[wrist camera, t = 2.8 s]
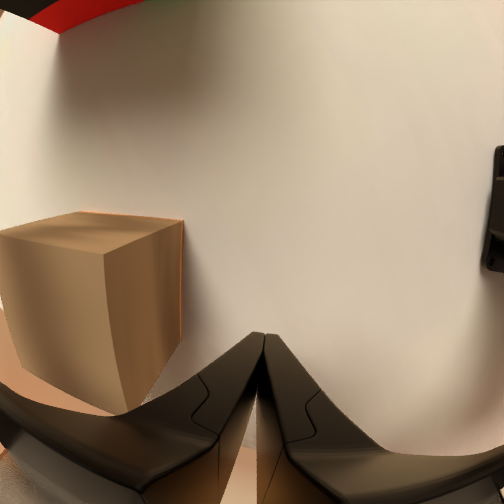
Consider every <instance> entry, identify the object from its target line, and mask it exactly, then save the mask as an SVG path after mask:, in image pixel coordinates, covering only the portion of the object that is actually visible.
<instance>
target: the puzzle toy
mask: <svg viewBox="0 0 504 504" xmlns="http://www.w3.org/2000/svg"><path fill="white" fill-rule="evenodd" d="M143 1H146V0H0V9H2V10H5V11H7V12H10V13H13V14H15V15H18V16H20V17H23V18H25V19H27V20H30V21H32V22H34V23H36V24H39V25H41V26H43V27H45V28H47V29H50V30H52V31H54V32H56V33H58V34H60V33H62V32H64V31H66V30H68V29H71V28H73V27H75V26H77V25H79V24H81V23H84V22H86V21H88V20H91V19H93V18H96V17H98V16H101V15H103V14H106V13H109V12H111V11H114V10H117V9H120V8H123V7H126V6H129V5H132V4H136V3H139V2H143Z"/></svg>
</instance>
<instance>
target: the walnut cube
mask: <svg viewBox="0 0 504 504" xmlns="http://www.w3.org/2000/svg"><path fill="white" fill-rule="evenodd" d="M182 240H183V220H174V219H164V218H154V217H143V216H132V215H120V214H108V213H96V212H82V211H80V212H75V213H70V214H65V215H61V216H56V217H52V218H48V219H44V220H39V221H35V222H31V223H27V224H23V225H20V226H16V227H12V228H8V229H5V230H1V231H0V295H1V300H2V304H3V308H4V312H5V316H6V320H7V323H8V327H9V330H10V333H11V337H12V340H13V343H14V346H15V349H16V352H17V355H18V357H19V360H20V363H21V365H22V367H23V368H24V369H26V370H27V371H29V372H30V373H32V374H34V375H35V376H37V377H39V378H40V379H42V380H44V381H45V382H47V383H49V384H51V385H53V386H54V387H56V388H58V389H60V390H62V391H64V392H66V393H68V394H70V395H71V396H73V397H75V398H78V399H80V400H82V401H84V402H86V403H88V404H90V405H93V406H95V407H97V408H99V409H102V410H104V411H107V412H109V413H112V414H114V415H116V416H117V415H120V414H124V413H126V412H129V411H131V410H133V409H135V408H137V407H139V406H140V405H141V403H142V402H143V400H144V398H145V397H146V395H147V394H148V392H149V390H150V389H151V387H152V386H153V384H154V382H155V381H156V379H157V378H158V376H159V374H160V373H161V371H162V370H163V368H164V366H165V365H166V363H167V362H168V360H169V358H170V357H171V355H172V354H173V352H174V351H175V349H176V347H177V346H178V344H179V343H180V341H181V339H182V336H181V271H182Z"/></svg>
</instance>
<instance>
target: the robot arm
mask: <svg viewBox="0 0 504 504" xmlns="http://www.w3.org/2000/svg"><path fill="white" fill-rule="evenodd" d="M502 153H503V154H502ZM503 156H504V145H500V146H497V147H496V149H495V170H494V185H493V196H492V205H491V212H490V219H489V225H488V231H487V237H486V242H485V247H484V251H483V256H482V265H483V267H484V268H486V269H488V270H490V271H496V272H502V273H504V157H503ZM490 258H491V260H490ZM489 260H490V262H489ZM258 381H259V382H258ZM257 388H258V389H257ZM256 394H257V398H256ZM255 398H256V423H257V504H504V496H503V494H502V492H501V489H502V488H503V487H504V445H502V446H499V447H496V448H494V449H492V450H489V451H487V452H484V453H479V454H474V455H466V456H424V455H408V454H398V453H394V452H390V451H388V450H386V449H384V448H383V447H381V446H380V445H378V444H377V443H376V442H375V441H373V440H372V439H371V438H370V437H369V436H368V435H367V434H365V433H364V432H363V431H362V430H361V429H360V428H359V427H358V426H356V425H355V424H354V423H353V422H352V421H351V420H350V419H349V418H348V417H347V416H346V415H344V414H343V413H342V412H341V411H340V410H339V409H338V408H337V407H336V405H335V404H334V403H333V402H332V401H331V400H330V399H329V398H328V396H327V395H326V394H325V393H324V391H322V389H321V388H320V387H319V386H318V384H317V383H316V382H315V381H314V379H313V378H312V377H311V376H310V374H309V373H308V372H307V371H306V369H305V368H304V367H303V366H302V364H301V363H300V362H299V361H298V359H297V358H296V357H295V356H294V354H293V353H292V352H291V351H290V349H289V348H288V347H287V346H286V344H285V343H284V342H283V340H282V339H281V338H280V337H279V335H277V334H268V333H267V334H266V335H265V334H264V333H260V332H251V333H250V334H249V335H247V336H246V337H245V338H244V339H242V340H241V341H240V342H239V343H237V344H236V345H235V346H233V347H232V348H231V349H229V350H228V351H227V352H225V353H224V354H223V355H222V356H220V357H219V358H218V359H216V360H215V361H214V362H212V363H211V364H209V365H208V366H207V367H205V368H204V369H203V370H201V371H200V372H199V373H197V374H196V375H194V376H193V377H191V378H190V379H189V380H187V381H186V382H184V383H183V384H181V385H180V386H178V387H176V388H175V389H173V390H171V391H169V392H167V393H166V394H164V395H162V396H160V397H158V398H156V399H154V400H152V401H150V402H148V403H146V404H144V405H141V406H139V407H137V408H135V409H133V410H131V411H129V412H126V413H124V414H120V415H117V416H109V417H107V416H106V417H105V416H97V415H91V414H85V413H80V412H75V411H70V410H66V409H61V408H57V407H53V406H49V405H45V404H41V403H38V402H35V401H32V400H30V399H27V398H25V397H23V396H21V395H18V394H17V393H15V392H14V391H12V390H11V389H10V388H8V387H7V386H6V385H4V384H3V383H1V382H0V442H1V444H2V445H3V446H4V448H5V449H4V451H3V452H2V453H1V454H0V504H220V502H221V500H222V497H223V494H224V492H225V489H226V486H227V483H228V480H229V478H230V475H231V472H232V469H233V466H234V463H235V460H236V458H237V455H238V452H239V448H240V446H241V443H242V440H243V437H244V434H245V431H246V427H247V424H248V421H249V418H250V415H251V412H252V409H253V405H254V402H255Z"/></svg>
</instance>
